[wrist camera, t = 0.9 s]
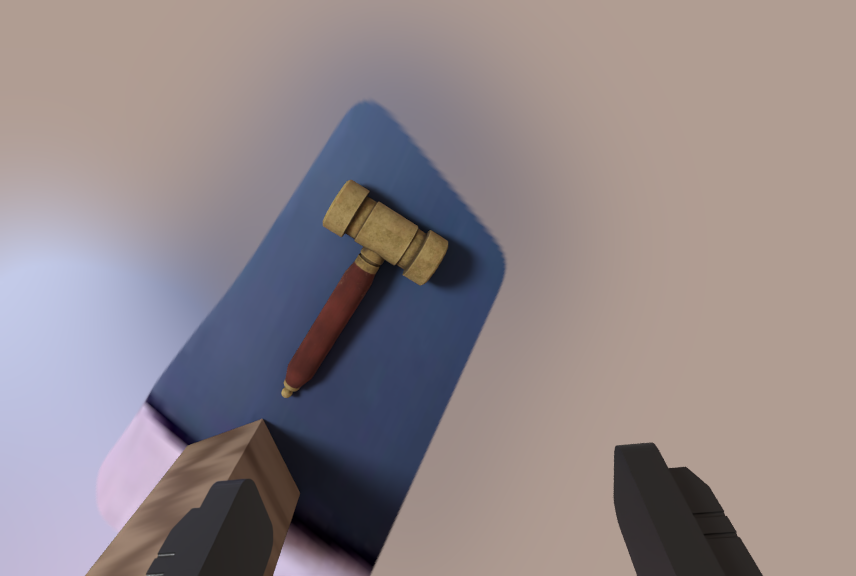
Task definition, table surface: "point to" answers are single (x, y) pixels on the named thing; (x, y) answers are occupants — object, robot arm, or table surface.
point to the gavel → (362, 270)
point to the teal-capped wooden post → (187, 488)
